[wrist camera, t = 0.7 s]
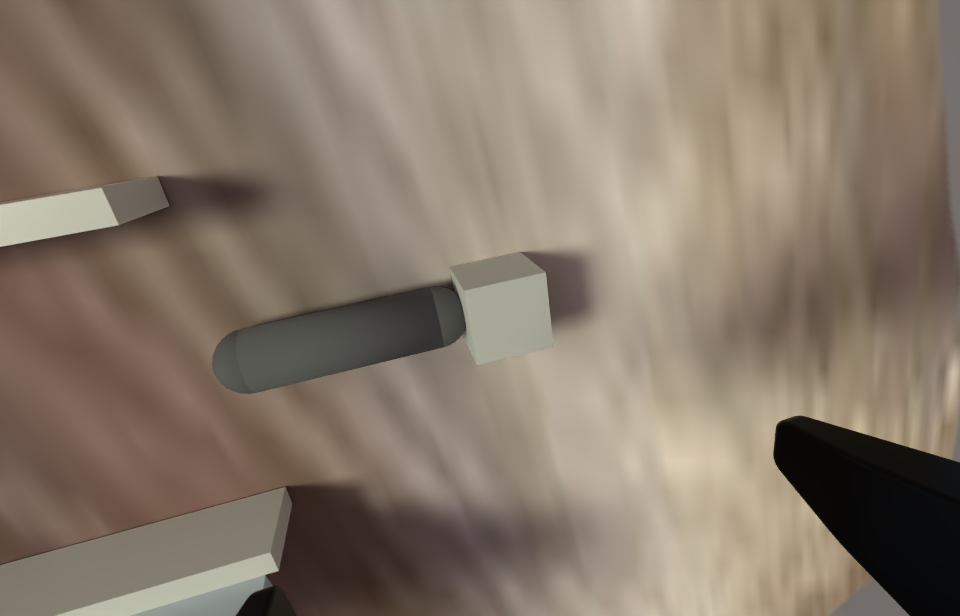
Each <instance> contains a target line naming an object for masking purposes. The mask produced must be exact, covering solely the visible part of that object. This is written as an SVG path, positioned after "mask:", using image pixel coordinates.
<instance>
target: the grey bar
mask: <svg viewBox="0 0 960 616" xmlns="http://www.w3.org/2000/svg"><path fill="white" fill-rule="evenodd" d="M450 272H451V277H452V282H453V288H454V292H453V291H451V290H449V289H447V288H444V287H428V288H424V289H419V290H415V291H410V292H406V293H401V294H397V295H392V296H388V297H383V298H379V299H374V300H370V301H365V302H361V303H356V304H352V305H347V306H343V307H338V308H333V309H329V310H324V311H320V312H315V313H311V314H306V315H302V316H297V317H293V318H288V319H284V320H279V321H275V322H270V323H266V324H261V325H257V326H252V327H248V328H243V329H240V330H237V331H234V332H232V333H230V334H228V335H227V336H226V337H225V338H223V339H222V340H221V341H220V343H219V344H218V345H217V347H216V349H215V351H214V354H213V360H212V366H213V371H214V374H215V376H216V377H217V379H218V380H219V382H220V383H221V384H222V385H224V386H225V387H226V388H228V389H230V390H232V391H234V392H238V393H244V394H250V393H257V392H261V391H265V390H269V389H273V388H278V387H282V386H286V385H290V384H294V383H298V382H302V381H306V380H311V379H315V378H319V377H323V376H327V375H331V374H335V373H339V372H344V371H348V370H352V369H356V368H360V367H364V366H368V365H372V364H377V363H381V362H385V361H389V360H393V359H397V358H401V357H405V356H410V355H414V354H418V353H422V352H426V351H430V350H434V349H438V348H443V347H446V346H448V345H450V344H452V343H454V342H455V341H456V340H458V339H459V338H460V336H461V335H462V334H463V336H464V338H465V341H466V343H467V345H468V347H469V349H470V351H471V353H472V356H473V358H474V360H475V362H476V364H477V366H478V365H482V364H486V363H490V362H494V361H498V360H502V359H506V358H510V357H514V356H518V355H522V354H526V353H529V352H533V351H537V350H541V349H545V348H549V347H553V338H552V328H551V318H550V308H549V299H548V289H547V279H546V272H545V271H544V270H542V269H541V268H540V267H539V266H537V265H536V264H535V263H533V262H532V261H531V260H530V259H528V258H527V257H526V256H525V255H523V254H522V253H521V252H518V253H513V254H508V255H504V256H499V257H494V258H490V259H485V260H481V261H476V262H471V263H467V264H462V265H457V266H453V267H450Z"/></svg>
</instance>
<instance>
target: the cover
mask: <svg viewBox="0 0 960 616" xmlns="http://www.w3.org/2000/svg"><path fill="white" fill-rule="evenodd" d="M271 586H273V585H272V584H271V582H270V581H269V580H268V578H267V577H266V575H263V576H260V577H257V578H253V579H250V580H247V581H243V582H240V583H237V584H233V585H230V586H227V587H223V588H220V589H217V590H213V591H210V592H207V593H203V594H200V595H197V596H193V597H190V598H187V599H183V600H180V601H177V602H173V603H170V604H167V605H163V606H160V607H157V608H154V609H150V610H147V611H144V612H140V613H137V614H134V615H130V616H236V614H237V613H238V611H239V610H240V608H241V607H242V605H243V604H244V602H245V601H246V599H247V598H248V597H249V596H250V595H251V594H252V593H254V592H256V591H258V590H262V589H265V588H268V587H271Z"/></svg>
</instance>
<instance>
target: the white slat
mask: <svg viewBox="0 0 960 616" xmlns="http://www.w3.org/2000/svg"><path fill="white" fill-rule="evenodd" d="M166 207H169V203H168V201H167V199H166V196H165V194H164V191H163V189H162V187H161V184H160V182H159V179H158V177H157V176H155V177H149V178H143V179H137V180H131V181H125V182H119V183H113V184H107V185H101V186H95V187H90V188H84V189H78V190H72V191H66V192H60V193H54V194H48V195H42V196H36V197H30V198H24V199H19V200H13V201H7V202H1V203H0V247H2V246H7V245H13V244H18V243H24V242H29V241H35V240H40V239H46V238H51V237H57V236H62V235H68V234H73V233H79V232H84V231H90V230H95V229H101V228H106V227H112V226H117V225H121V224H123V223H126V222H129V221H131V220H134V219H137V218H139V217H142V216H145V215H147V214H150V213H153V212H155V211H158V210H161V209H163V208H166ZM291 508H292V502H291V499H290V497H289V494H288V492H287V489H286V487H283V488H279V489H275V490H272V491H268V492H265V493H261V494H257V495H254V496H250V497H246V498H243V499H239V500H235V501H232V502H228V503H224V504H221V505H217V506H214V507H210V508H206V509H203V510H199V511H195V512H192V513H188V514H184V515H181V516H177V517H174V518H170V519H166V520H163V521H159V522H155V523H152V524H148V525H144V526H141V527H137V528H133V529H130V530H126V531H123V532H119V533H115V534H112V535H108V536H104V537H101V538H97V539H93V540H90V541H86V542H82V543H79V544H75V545H72V546H68V547H64V548H61V549H57V550H53V551H50V552H46V553H42V554H39V555H35V556H31V557H28V558H24V559H21V560H17V561H13V562H10V563H6V564H2V565H0V616H130V615H134V614H137V613H140V612H144V611H147V610H150V609H154V608H157V607H160V606H163V605H167V604H170V603H173V602H177V601H180V600H183V599H187V598H190V597H193V596H197V595H200V594H203V593H207V592H210V591H213V590H217V589H220V588H223V587H227V586H230V585H233V584H237V583H240V582H243V581H247V580H250V579H253V578H257V577H260V576H263V575H267V574H270V573H273V572H277V571H279V567H280V562H281V557H282V552H283V547H284V543H285V538H286V533H287V528H288V523H289V518H290V513H291Z"/></svg>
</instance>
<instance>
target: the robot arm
mask: <svg viewBox="0 0 960 616" xmlns="http://www.w3.org/2000/svg"><path fill="white" fill-rule="evenodd" d="M773 456H774V461H775V463H776V465H777V467H778V468H779V470H780V471H781V472H782V474H783V475H784V476H785V477H786V478H787V480H788V481H789V482H790V483H791V485H792V486H793V487H794V488H795V489H796V491H797V492H798V493H799V494H800V496H801V497H802V498H803V499H804V500H805V502H806V503H807V504H808V505H809V506H810V508H811V509H812V510H813V511H814V513H815V514H816V515H817V516H818V517H819V519H820V520H821V521H822V522H823V524H824V525H825V526H826V527H827V528H828V530H829V531H830V532H831V533H832V534H833V535H834V537H835V538H836V539H837V540H838V541H839V542H840V544H841V545H842V546H843V547H844V548H845V549H846V550H847V551H848V552H849V553H850V554H851V555H852V557H853V558H854V559H855V560H856V561H857V562H858V563H859V564H860V565H861V566H862V567H863V568H864V569H865V570H866V571H867V572H868V573H869V574H870V575H871V576H872V577H873V578H874V579H875V580H876V581H877V582H878V583H879V584H880V585H881V586H882V587H883V589H885V591H886V592H888V594H889V595H890V596H891V597H892V598H893V599H894V600H895V601H896V602H897V603H898V604H899V605H900V606H901V607H902V608H903V609H904V610H905V611H906V612H907V613H908V614H909V615H910V616H960V462H956V461H953V460H950V459H946V458H943V457H940V456H936V455H933V454H930V453H926V452H923V451H919V450H916V449H913V448H909V447H906V446H903V445H899V444H896V443H893V442H889V441H886V440H883V439H879V438H876V437H872V436H869V435H866V434H862V433H859V432H856V431H852V430H849V429H846V428H842V427H839V426H835V425H832V424H829V423H825V422H822V421H819V420H815V419H812V418H809V417H805V416H794V417H791V418H788V419H785V420H782V421H780V422H779V423H778V424H777V426H776V432H775V442H774V452H773ZM236 616H296V614H295V612H294V610H293V608H292V606H291V604H290V602H289V600H288V598H287V597H286V595H285V593H284V591H283V589H282V588H281V587H280V586H278V585H274V586H271V587H268V588H265V589H262V590H258V591H256V592H254V593H252V594H251V595H250V596H249V597H248V598H247V599H246V601H245V602H244V604H243V605H242V607H241V608H240V610H239V611H238V613H237V614H236Z"/></svg>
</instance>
